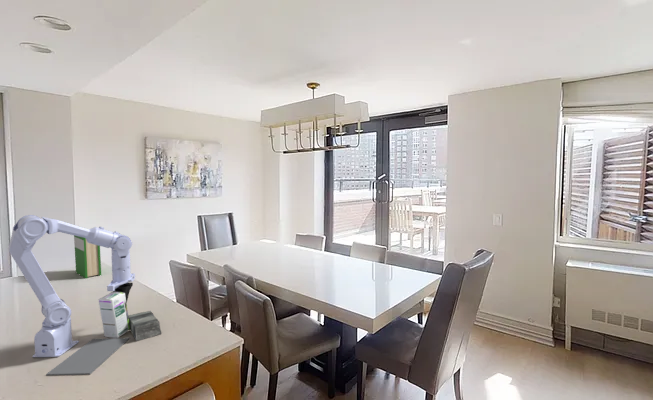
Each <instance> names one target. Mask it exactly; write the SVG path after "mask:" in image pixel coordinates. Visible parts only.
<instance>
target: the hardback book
mask: <svg viewBox="0 0 653 400" xmlns="http://www.w3.org/2000/svg"><path fill="white" fill-rule="evenodd" d="M73 241H74V258H75V259H74V263H75V273H76V272H77V273H76V274H78V275H79V274H80V275H79V276H81V277H82V276H83V277H82V278H84V279H85V278H86V279H89V277H93V276H99V277H100V275H101V276H102V264H101V263H102V261H101V257H102V256H101V246H98V245H94V244H90V243H88V242H87V240H86V238H83V237H79V236H74V235H73Z"/></svg>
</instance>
